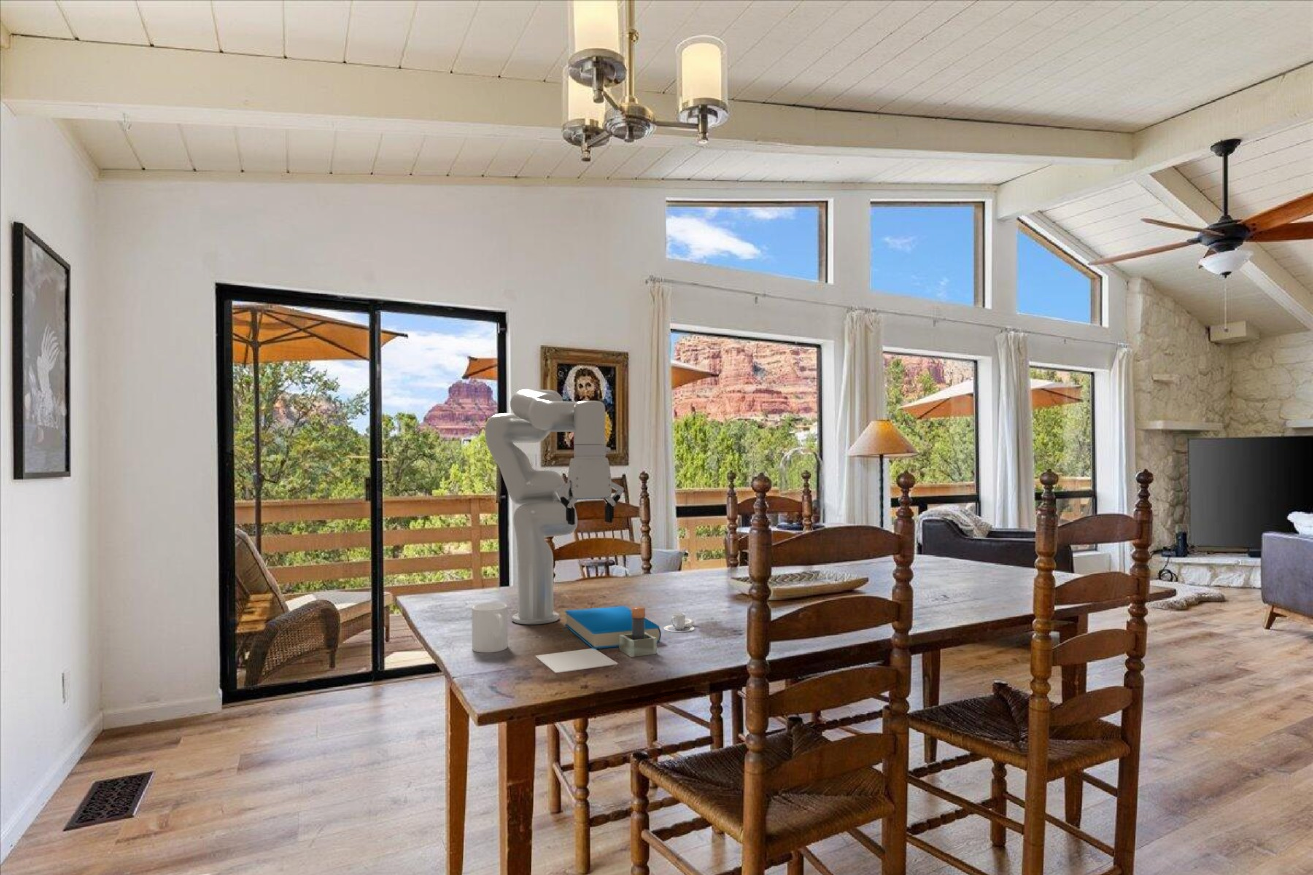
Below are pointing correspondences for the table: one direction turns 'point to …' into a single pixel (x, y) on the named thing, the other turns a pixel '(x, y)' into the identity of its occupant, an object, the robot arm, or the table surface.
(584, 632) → the book
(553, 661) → the paper
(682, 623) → the teacup and saucer
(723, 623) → the table surface
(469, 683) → the table surface
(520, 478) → the robot arm
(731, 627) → the table surface
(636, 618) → the marker
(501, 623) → the mug
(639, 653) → the pen holder
